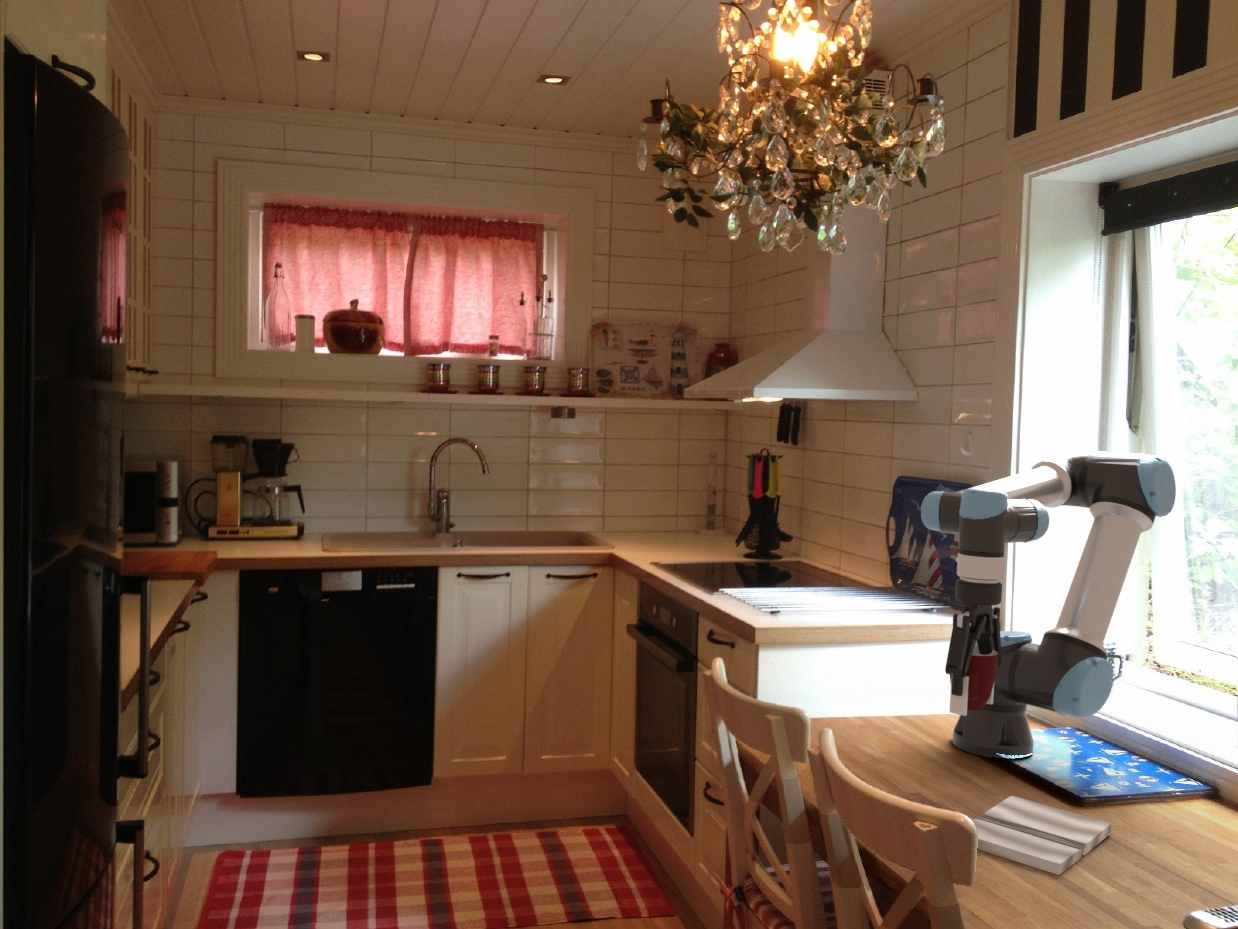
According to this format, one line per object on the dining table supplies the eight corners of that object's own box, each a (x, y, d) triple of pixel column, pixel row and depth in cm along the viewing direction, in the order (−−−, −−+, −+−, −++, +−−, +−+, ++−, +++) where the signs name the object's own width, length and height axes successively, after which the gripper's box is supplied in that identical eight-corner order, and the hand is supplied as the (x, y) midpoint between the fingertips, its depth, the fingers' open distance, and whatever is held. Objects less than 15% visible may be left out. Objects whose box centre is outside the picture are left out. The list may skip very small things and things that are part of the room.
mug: (1002, 720, 180) (1005, 661, 179) (952, 716, 181) (955, 657, 180) (990, 703, 190) (993, 647, 189) (942, 699, 191) (945, 643, 191)
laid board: (977, 826, 171) (977, 816, 171) (1080, 858, 160) (1081, 847, 160) (952, 841, 164) (953, 830, 164) (1059, 875, 154) (1059, 863, 154)
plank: (1010, 804, 181) (1011, 795, 180) (1110, 833, 170) (1111, 822, 170) (980, 824, 172) (980, 814, 172) (1083, 856, 161) (1084, 845, 161)
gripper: (985, 570, 195) (978, 692, 196) (928, 582, 178) (920, 715, 180) (1026, 576, 190) (1019, 701, 191) (972, 589, 173) (963, 725, 175)
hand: (971, 708), depth 185 cm, fingers closed on mug, 10 cm apart
